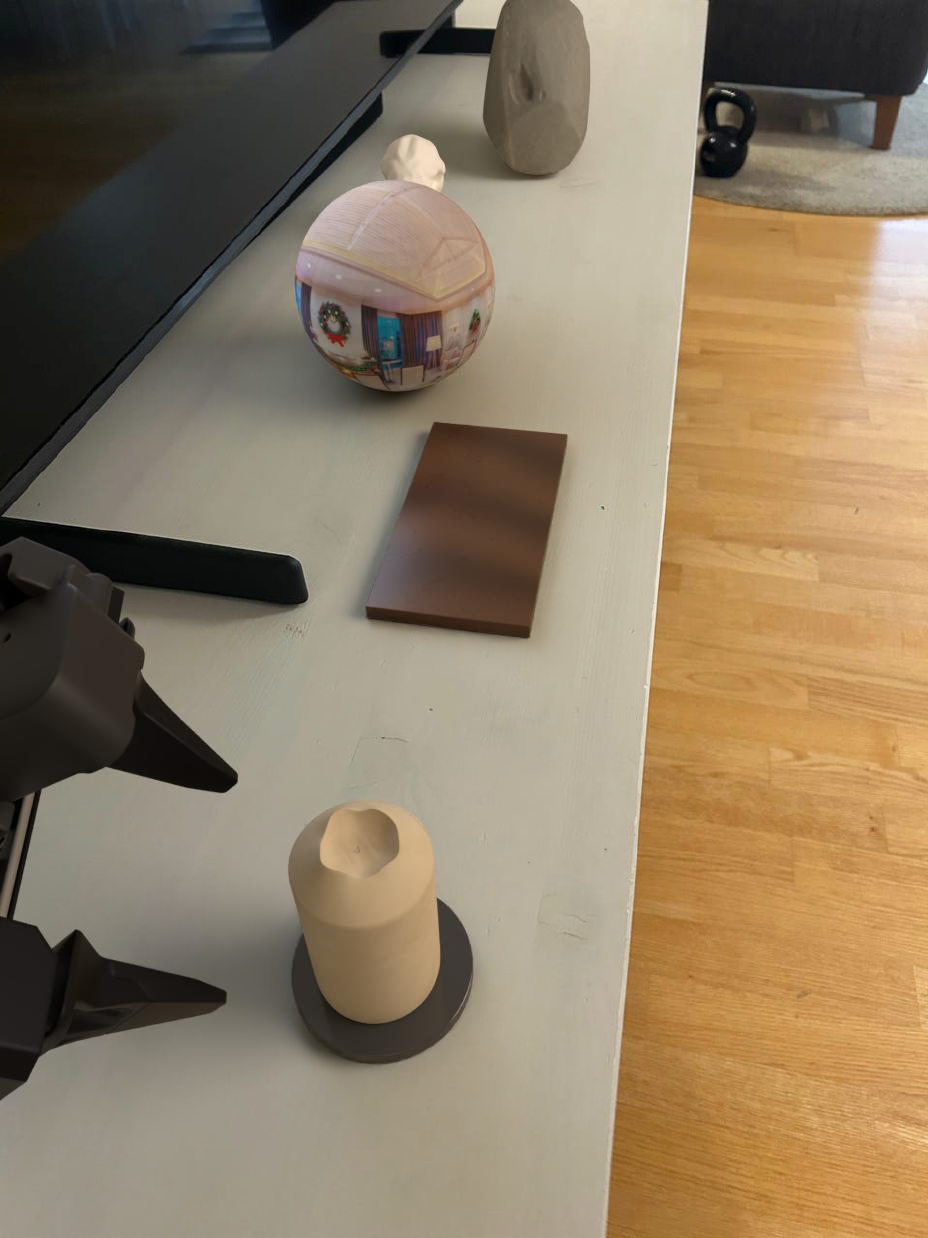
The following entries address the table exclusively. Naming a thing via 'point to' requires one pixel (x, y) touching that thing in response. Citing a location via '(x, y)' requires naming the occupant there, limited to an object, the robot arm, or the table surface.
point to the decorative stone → (538, 85)
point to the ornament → (395, 285)
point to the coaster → (404, 1032)
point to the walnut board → (472, 531)
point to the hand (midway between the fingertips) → (226, 884)
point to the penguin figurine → (414, 162)
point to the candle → (368, 908)
